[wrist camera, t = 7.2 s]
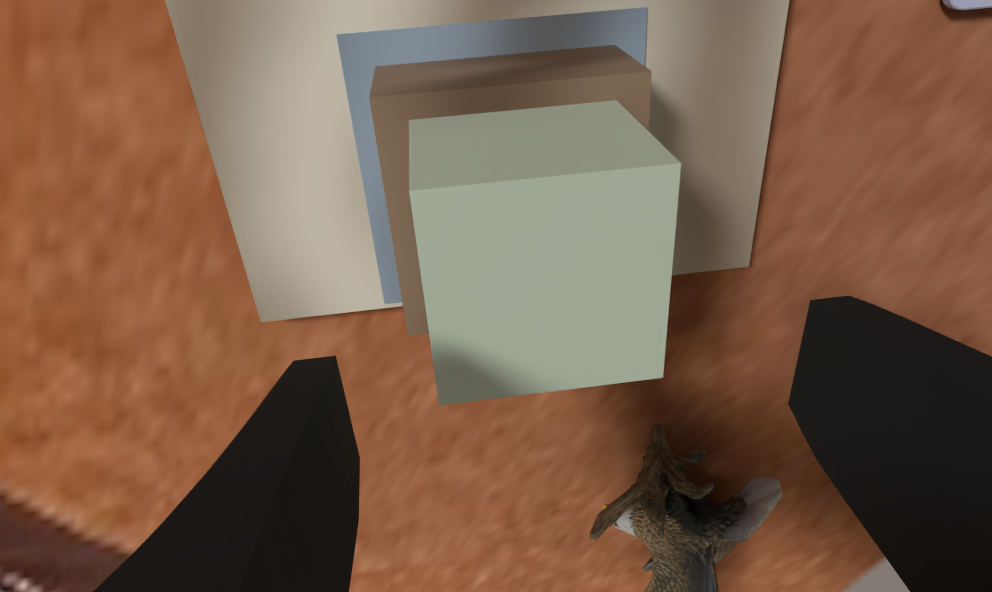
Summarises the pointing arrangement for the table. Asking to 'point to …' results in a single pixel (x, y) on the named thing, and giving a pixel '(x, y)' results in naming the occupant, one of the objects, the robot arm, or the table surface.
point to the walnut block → (483, 91)
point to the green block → (543, 248)
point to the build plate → (445, 36)
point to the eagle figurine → (685, 518)
